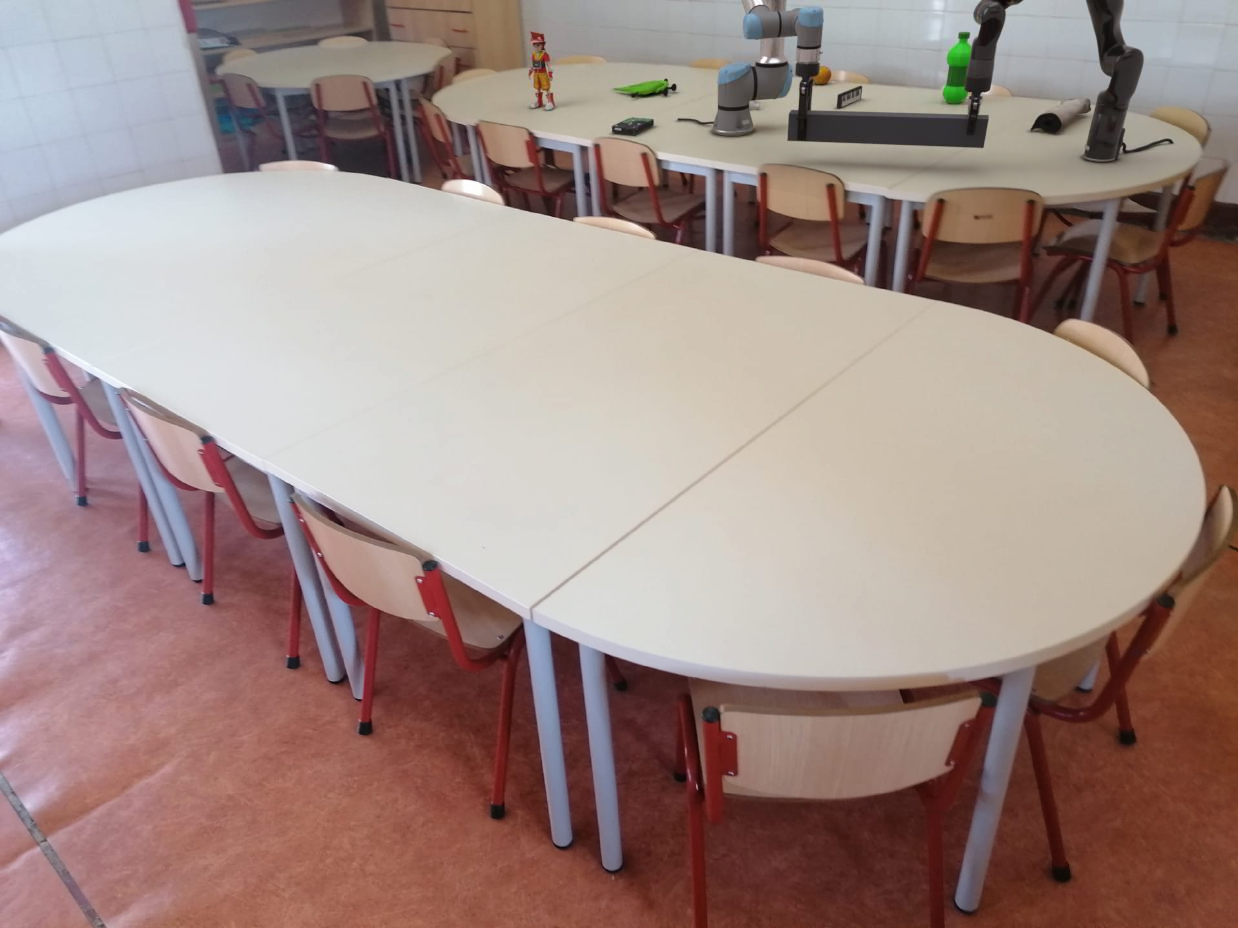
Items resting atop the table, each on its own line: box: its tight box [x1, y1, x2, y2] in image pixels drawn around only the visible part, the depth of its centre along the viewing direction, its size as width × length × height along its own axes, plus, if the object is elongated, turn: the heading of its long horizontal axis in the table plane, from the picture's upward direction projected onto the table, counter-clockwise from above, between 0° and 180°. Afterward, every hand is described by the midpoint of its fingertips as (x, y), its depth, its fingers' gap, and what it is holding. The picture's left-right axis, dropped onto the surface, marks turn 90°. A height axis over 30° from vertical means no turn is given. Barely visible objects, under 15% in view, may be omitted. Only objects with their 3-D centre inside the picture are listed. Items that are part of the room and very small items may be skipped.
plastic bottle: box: [942, 31, 972, 104], centre depth 348 cm, size 10×10×25 cm
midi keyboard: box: [836, 85, 863, 109], centre depth 360 cm, size 18×1×5 cm, turn 138°
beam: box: [786, 109, 990, 149], centre depth 287 cm, size 61×5×9 cm, turn 71°
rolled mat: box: [1030, 97, 1092, 134], centre depth 321 cm, size 30×9×10 cm
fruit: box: [812, 65, 832, 85], centre depth 390 cm, size 8×8×8 cm
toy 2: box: [612, 78, 677, 99], centre depth 396 cm, size 28×5×30 cm
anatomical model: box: [749, 100, 762, 110], centre depth 364 cm, size 15×10×10 cm
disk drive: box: [611, 116, 655, 136], centre depth 345 cm, size 10×3×15 cm
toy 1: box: [527, 31, 556, 111], centre depth 374 cm, size 12×9×30 cm
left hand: (802, 137), depth 296 cm, fingers closed on beam, 5 cm apart
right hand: (970, 131), depth 279 cm, fingers closed on beam, 5 cm apart
